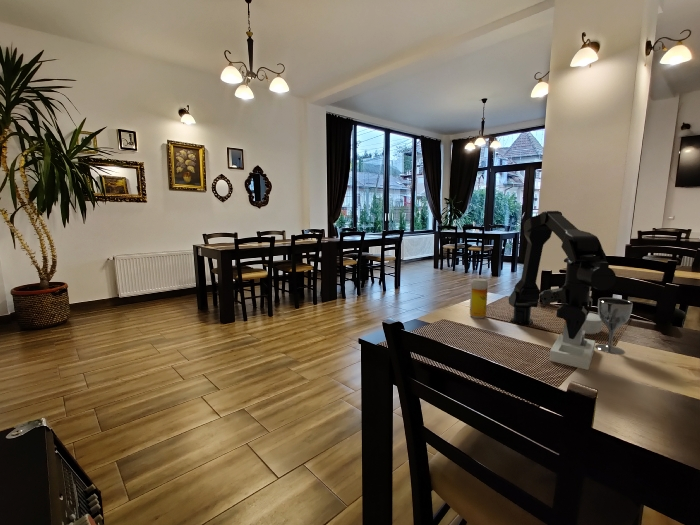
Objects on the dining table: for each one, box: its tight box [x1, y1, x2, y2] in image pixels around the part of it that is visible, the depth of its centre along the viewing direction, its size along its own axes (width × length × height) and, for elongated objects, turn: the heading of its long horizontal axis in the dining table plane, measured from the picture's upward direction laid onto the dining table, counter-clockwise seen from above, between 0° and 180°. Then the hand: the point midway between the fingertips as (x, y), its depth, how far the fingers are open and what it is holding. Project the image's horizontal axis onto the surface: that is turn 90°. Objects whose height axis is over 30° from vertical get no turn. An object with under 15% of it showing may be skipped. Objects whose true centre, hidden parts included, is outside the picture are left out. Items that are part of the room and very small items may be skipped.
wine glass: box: [594, 297, 634, 355], centre depth 100 cm, size 8×8×15 cm
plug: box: [562, 320, 583, 345], centre depth 93 cm, size 4×4×6 cm
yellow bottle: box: [469, 277, 489, 319], centre depth 132 cm, size 6×6×15 cm
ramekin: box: [583, 312, 604, 335], centre depth 117 cm, size 11×11×5 cm
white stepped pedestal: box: [549, 331, 596, 371], centre depth 96 cm, size 16×9×6 cm, turn 140°
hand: (572, 336), depth 93 cm, fingers closed on plug, 4 cm apart
